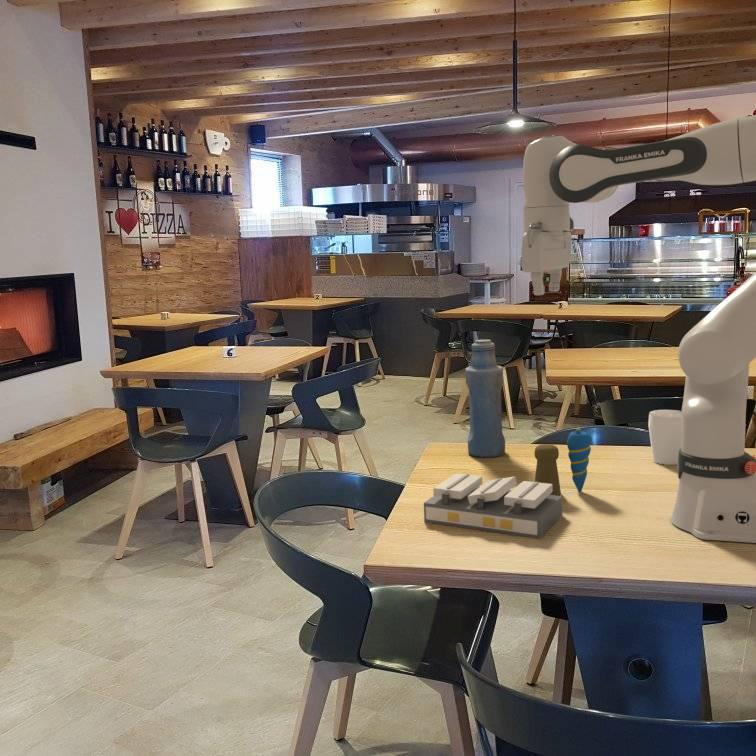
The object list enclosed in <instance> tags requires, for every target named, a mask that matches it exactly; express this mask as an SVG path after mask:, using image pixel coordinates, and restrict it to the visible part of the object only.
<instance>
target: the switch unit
mask: <svg viewBox="0 0 756 756" xmlns="http://www.w3.org/2000/svg"><path fill="white" fill-rule="evenodd" d="M479 487H481V485H480V486H478V487H477V488H476V489H474V490H473V491H472V492H474V491H475V490H477V489H478V488H479ZM512 490H513V489H510V490H509V491H508V492H506V493H505V494H504V495H503V496H502V497H500V498H499V499H498V500H493V501H486V502H484V498H479V497H478V498H477V503H473V504H470V503H469V500H468V495H470V494H471V493H472V492H470V493H469V494H468V495H466V496H465V497H463V498H462V499H455V498H449V494H447V493H442V497H440V496H434V495H433V496H431V497H430V498H428V499H427V500H426V501H424V502H423V517H424V518H423V519H424V523H430V524H437V525H442V526H443V525H444V526H448V527H449V526H450V527H457V528H463V529H470V530H477V531H485V532H490V533H498V534H499V533H500V534H503V535H511V536H517V537H526V538H532V539H538V540H541V538H542V537H543V536H544V535H546V533H547V532H548V531H549V530H550V529H551V528H552V527H553V526H554V525H555V523H557V521H559V519H561V518H562V516H563V495H561V496H556V495H549V496H547V497H546V498H545V499H544V500H543V501H542V502H541V503H540V504H539V505H538V506H537V507H536V508H535V509H534V508H526V507H521V503H519V502H515V503H514V506H510V505H504V496H506V495H507V494H508V493H509V492H511V491H512Z"/></svg>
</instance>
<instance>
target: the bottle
mask: <svg viewBox="0 0 756 756" xmlns="http://www.w3.org/2000/svg"><path fill="white" fill-rule="evenodd" d="M495 346H496V345H495V343H494V342H492V339H476V340H474V343H472V344H471V359H470V360H471V361H470V366H467V367H466V368H465V369H464V370H465V371H464V373H465V383H466V386H467V388H468V398H469V399H468V403H469V407H468V409H469V434H468V437H467V452H468V454H469V455H470V456H473V457H475V458H482V459H483V458H496V457H500V456H503V455H504V454H505V453H506V438H505V436H504V433H503V421H502V418H503V417H502V397H501V396H502V395H501V394H502V388H503V385H504V368H503V366H502V365H497V358H496V352H495V351H496V350H495V349H496V347H495Z"/></svg>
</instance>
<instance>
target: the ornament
mask: <svg viewBox="0 0 756 756" xmlns="http://www.w3.org/2000/svg"><path fill="white" fill-rule="evenodd" d="M581 430H582V429H581V428H580V427H579V425H577V427H576V428H575V431H571V432H570V433H569V434H568V437H567V440H566V445H567V448H568V459H569V461H570V471H571V473H572V475H571V476H572V477H571V479H572V482H573V483H574V486H575V487H576V490H577V492H578V493H579V492H580V493H581V492H583V487H584V484H585V482H586V479H587V475H588V465H589V463H590V459H589V456H590V454H591V452H592V451H591V450H592V447H591V443H592V436H591V434H590V433H589V432H586V431H581Z"/></svg>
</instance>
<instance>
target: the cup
mask: <svg viewBox="0 0 756 756" xmlns="http://www.w3.org/2000/svg"><path fill="white" fill-rule="evenodd" d="M647 425H648V432H649V441H650V446H651V455H652V456H651V457H652V461H653V462H654V463H655V464H658V463H659V465H663V464H664V465H665V466H666V465H667V466H673V465H674V466H676V465H678V454H679V450H680V448H681V425H682V410H677V409H657V410H656V409H655V410H651V411H649V413H648V424H647Z"/></svg>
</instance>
